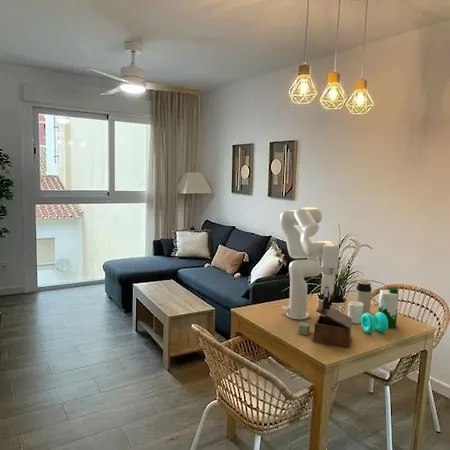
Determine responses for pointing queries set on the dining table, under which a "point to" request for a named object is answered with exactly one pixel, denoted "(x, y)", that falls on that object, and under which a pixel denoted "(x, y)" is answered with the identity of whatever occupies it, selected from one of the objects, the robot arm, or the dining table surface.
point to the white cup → (355, 311)
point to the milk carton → (389, 305)
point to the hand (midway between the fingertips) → (327, 306)
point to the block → (304, 328)
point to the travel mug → (364, 294)
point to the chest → (331, 332)
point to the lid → (335, 315)
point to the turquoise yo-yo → (374, 322)
